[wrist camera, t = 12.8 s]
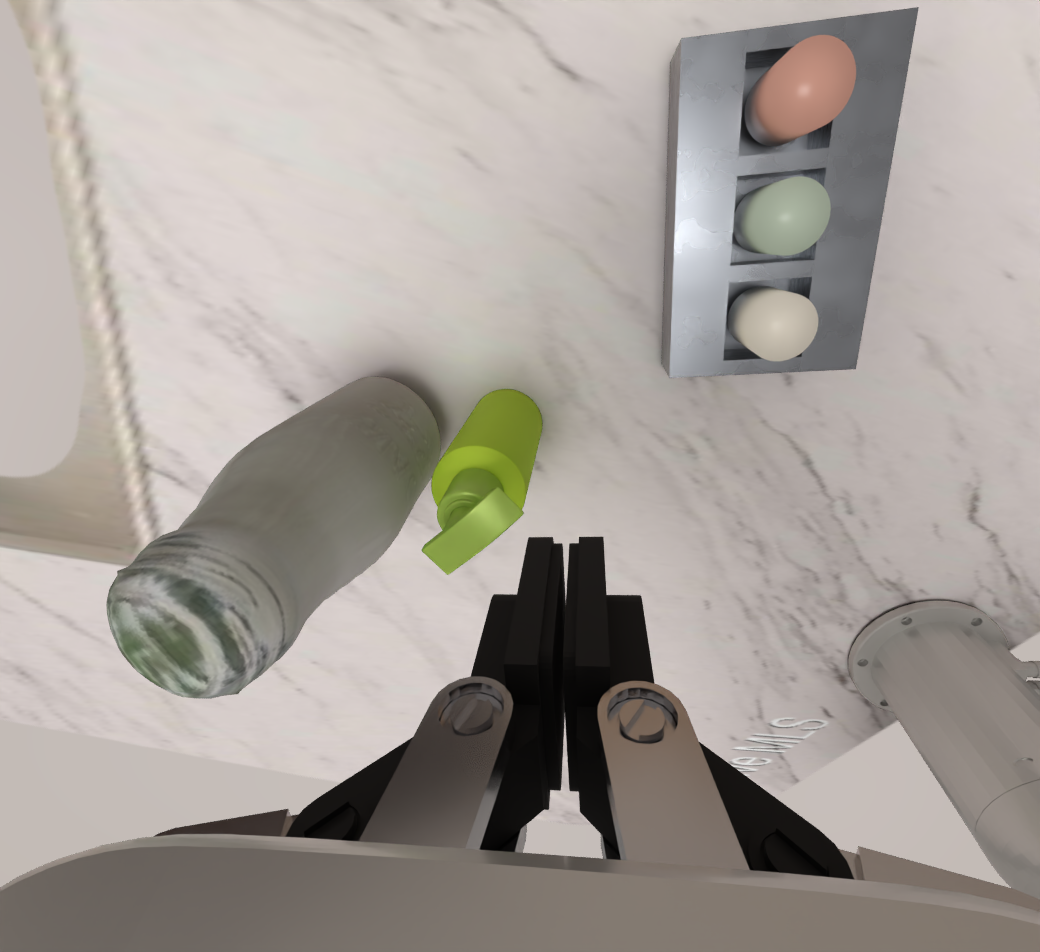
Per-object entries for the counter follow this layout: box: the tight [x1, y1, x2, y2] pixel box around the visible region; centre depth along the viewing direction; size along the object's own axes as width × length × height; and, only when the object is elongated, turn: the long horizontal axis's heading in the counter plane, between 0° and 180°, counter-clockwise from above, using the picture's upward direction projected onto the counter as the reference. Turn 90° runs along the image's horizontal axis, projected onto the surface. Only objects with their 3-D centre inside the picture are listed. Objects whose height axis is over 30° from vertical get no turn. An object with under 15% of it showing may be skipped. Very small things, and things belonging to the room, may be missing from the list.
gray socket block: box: [661, 7, 919, 378], centre depth 35 cm, size 12×19×4 cm, turn 4°
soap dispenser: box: [422, 389, 542, 575], centre depth 35 cm, size 6×7×20 cm
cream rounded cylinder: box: [728, 286, 818, 361], centre depth 34 cm, size 4×4×5 cm
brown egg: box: [745, 35, 856, 146], centre depth 29 cm, size 4×4×5 cm
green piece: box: [733, 176, 831, 256], centre depth 32 cm, size 4×4×5 cm
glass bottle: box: [107, 377, 441, 698], centre depth 33 cm, size 10×10×28 cm
